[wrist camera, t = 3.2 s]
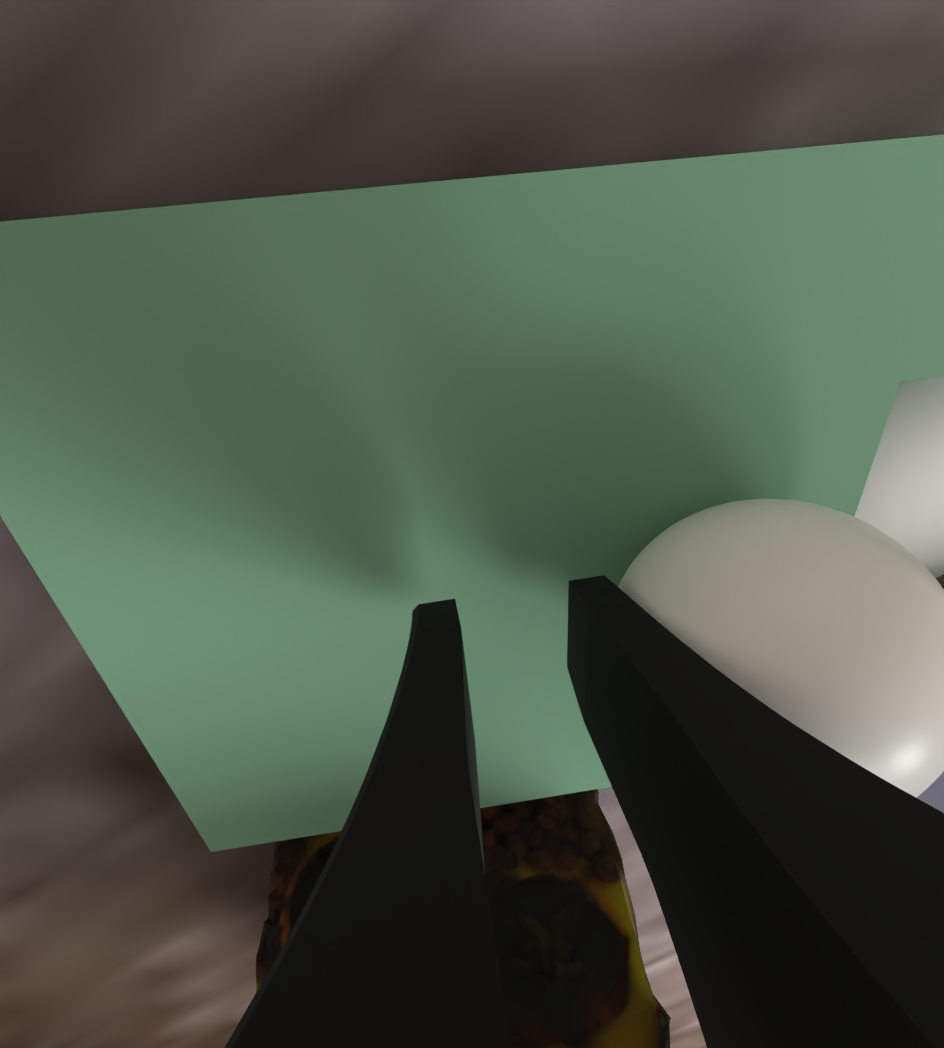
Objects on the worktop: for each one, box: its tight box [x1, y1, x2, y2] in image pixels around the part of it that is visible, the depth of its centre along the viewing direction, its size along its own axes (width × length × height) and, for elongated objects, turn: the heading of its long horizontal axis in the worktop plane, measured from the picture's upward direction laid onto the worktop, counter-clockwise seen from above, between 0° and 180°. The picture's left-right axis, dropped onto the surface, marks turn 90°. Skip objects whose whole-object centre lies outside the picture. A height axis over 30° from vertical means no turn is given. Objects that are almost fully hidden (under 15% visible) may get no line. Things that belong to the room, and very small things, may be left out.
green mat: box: [0, 134, 944, 852], centre depth 12 cm, size 24×14×2 cm, turn 94°
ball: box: [618, 498, 944, 797], centre depth 9 cm, size 5×5×5 cm
